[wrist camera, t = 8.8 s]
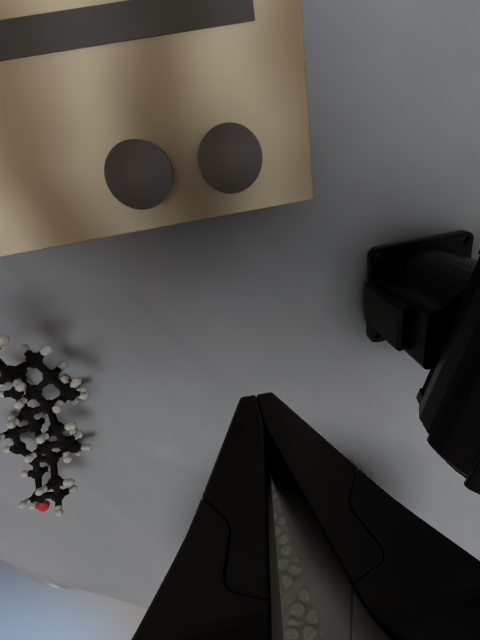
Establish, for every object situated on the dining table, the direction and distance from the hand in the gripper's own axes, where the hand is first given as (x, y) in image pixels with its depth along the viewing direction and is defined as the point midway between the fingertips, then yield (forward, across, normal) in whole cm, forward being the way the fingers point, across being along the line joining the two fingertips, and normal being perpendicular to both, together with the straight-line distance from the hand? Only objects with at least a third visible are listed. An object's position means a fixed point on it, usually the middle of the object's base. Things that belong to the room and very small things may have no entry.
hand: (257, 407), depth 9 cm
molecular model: (+13, +13, +7) cm, 20 cm away
